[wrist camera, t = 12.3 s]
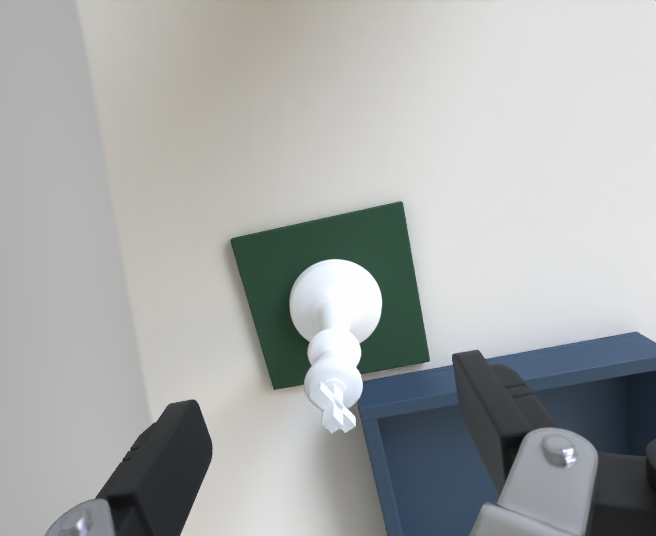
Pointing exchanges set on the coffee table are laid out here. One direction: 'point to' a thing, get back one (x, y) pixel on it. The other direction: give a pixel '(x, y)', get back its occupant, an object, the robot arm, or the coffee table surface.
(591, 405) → the tray
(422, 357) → the pad
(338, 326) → the chess piece
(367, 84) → the coffee table surface
